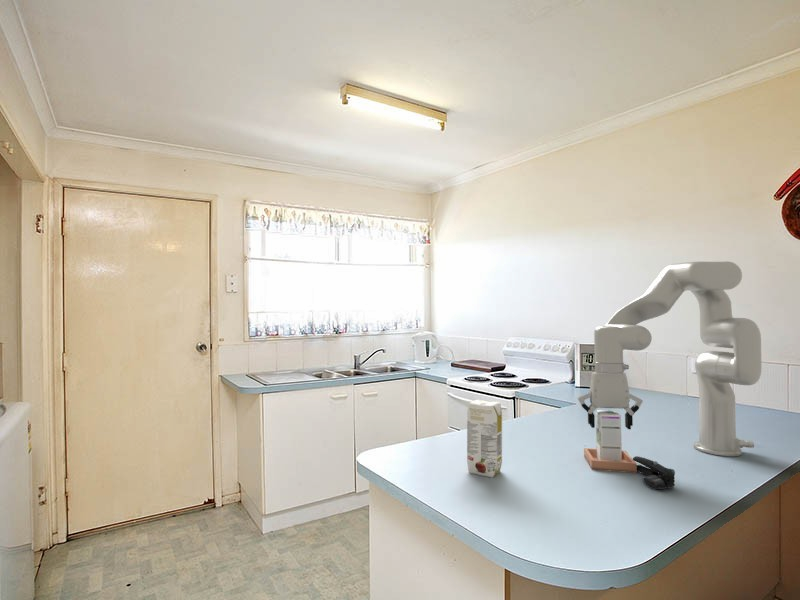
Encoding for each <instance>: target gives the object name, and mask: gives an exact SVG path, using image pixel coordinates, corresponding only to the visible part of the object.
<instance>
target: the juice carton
mask: <svg viewBox="0 0 800 600" xmlns="http://www.w3.org/2000/svg"><path fill="white" fill-rule="evenodd" d="M502 410H503V409H502V404H501V402H499V401H486V400H483V399H482V400H481V399H475V400H473V401H470V402H469V403H468V405H467V410H466V411H467V412H466V421H467V422H466V423H467V424H466V426H467V427H466V462H467V470H468V473H470V474H472V475H473V474H474V475H477V476H484V477H487V478H494V477H495V476H496V475H497V474H498V473H500V472H501V468H502V463H503V411H502Z"/></svg>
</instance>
